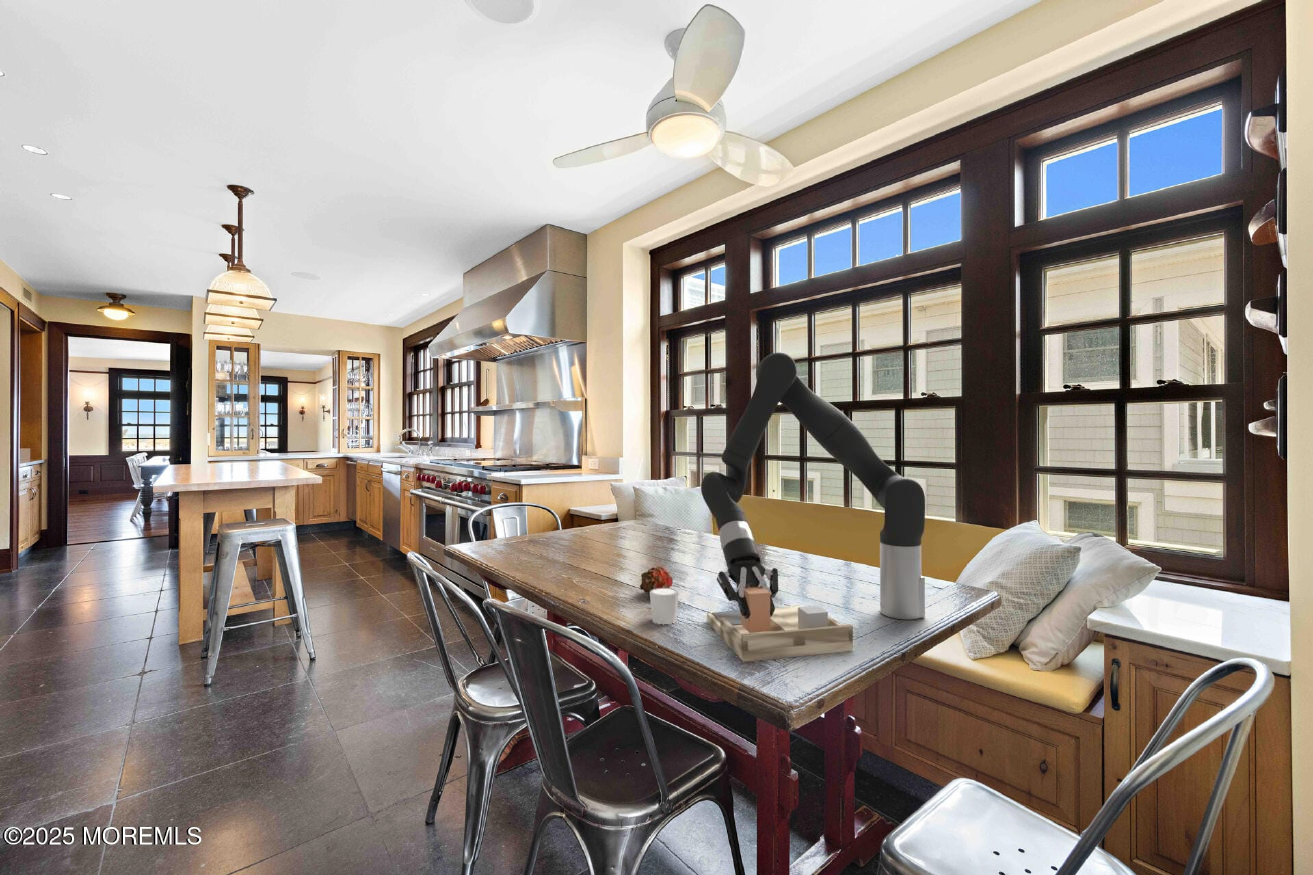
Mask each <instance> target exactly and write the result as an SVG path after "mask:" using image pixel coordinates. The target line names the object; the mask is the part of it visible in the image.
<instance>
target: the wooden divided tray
mask: <svg viewBox="0 0 1313 875" xmlns="http://www.w3.org/2000/svg"><path fill="white" fill-rule="evenodd" d="M798 607H802V605H793V606H792V605H790V606H779V607H775V611H774V613H773V615H772V616H771V617H770V631H766V632H755V633H749V632H748V631H747V630H746V629H745V628H744V627H743V626H742V615H741V612H740V609H739V610H729V611H728V610H727V611H726V610H725V611H715V612H707V613H706V622H707V624H709V626H711V628H712V629H713V630H714V631H715V632H716V633H717V635H719V636H720V638H721V639H722V640H723V641H724V642H725V643H726V644H727V646H729V648H730V649H731V650H732V651H733V652H734V653H735V654H736V655H737V657H739V658H740V660H741V661H742V662H744V663H745V662H754V661H764V660H772V659H773V660H775V659H784V658H794V657H803V656H814V655H823V654H834V653H843V652H844V653H845V652H846V653H847V652H853V651H854V626H853V625H852V624H845V625H844V624H842V623H841V622H840V621H837V620H836V619H835V618H833V617H831V616H829V615H828V627H818V628H807V629H798Z"/></svg>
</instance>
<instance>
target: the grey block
mask: <svg viewBox="0 0 1313 875" xmlns="http://www.w3.org/2000/svg"><path fill="white" fill-rule="evenodd" d="M828 616H829V612H828V611H827V610H825V609H823V608H822V607H821V606H819V605H810V606H808V605H807V606H801V607H798V629H807V628H818V627H828Z"/></svg>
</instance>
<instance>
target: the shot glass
mask: <svg viewBox="0 0 1313 875" xmlns="http://www.w3.org/2000/svg"><path fill="white" fill-rule="evenodd" d="M679 593H680V592H679V590H678V589H675V588H671V587H670V588H657V589H653V590H651V591H650V595H649V597H650V598H649V599H650V609H651V617H652V619H651V620H652V623H653V624H656V623H657V624H656V625H660V624H663V626H665V625H664V624H668V625H672V623H673V624H676V622H677V616H678V615H677V614H678V602H679Z"/></svg>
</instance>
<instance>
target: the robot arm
mask: <svg viewBox="0 0 1313 875" xmlns="http://www.w3.org/2000/svg"><path fill="white" fill-rule="evenodd" d="M755 378H756V384H755V387H754V390H753V392H752V395H751V398H750V400H749V403H748V405H747V406H746V408H745V410H744V412H743V414H742V415H741V417H740V418H739V420H738V422H737V424H736V426H735V427H734V430H733V431H732V433H731V436H730V437H729V439H728V441H727V443H726V446H725V448H724V450H723V452H722V454H721V461H722V463H723V464H725V465H726V466H727V468H728V472H727V475H725V474H723V473H722V472H717V471H712V472H709V473H706V474H705V476H703V478H702V481H701V484H700V490H701V491H700V492H701V495H702V499H703V500H704V502H705V504H706V506H707V507H708V509H709V511H710V513H711V514H712V516H713V518H714V519H715V522H716V523H715V524H716V526H717V531H718V534H719V542H720V547H721V550H722V554H723V557H724V560H725V564H726V567H727V571H721V570H720V571H719V572H718V574H717V577H716V581H717V582H718V585H719V586H720V588H721V590H722V591H723V594H724V595H725V597H726V599H727V600H728V601H734V602H736V603H737V605H738V608H739V610H740V612H741V615H742V616H744V618H745V619H747V618H749V616H750V611H749V607H748V604H747V600H746V598H744V596H745V592H744V590H745V588H751V587H761V588H764V589H766V590H767V591H769V592H770V617H771V616H772V615H773V613H774V611H775V608H776V607H775V604H774V601H773V598H775V597H776V596H777V594H778V592H779V571H778V568H776V567H773V568H772V569H770V568H766V567H765V566H764V565H763V564H762V561H761V556H760V553H759V551H758V548H757V543H756V541H755V538H754V534H753V532H752V530H751V528H750V526H749V523H748V520H747V517H746V514H745V510H744V509H743V508H742V506H741V505H740V504H739V502H740V501H741V499H742V498H743V495H744V492H745V488H746V484H747V476H748V471H749V467H750V464H751V462H752V460H753V457H754V455H755V453H756V452H757V449H758V448H759V445H760V442H761V440H762V438H763V435H764V433H765V431H766V428H767V426H768V423H769V422H770V420H771V418H772V415H773V414H774V412H775V410H776V408H777V406H778V404H779V403H780V404H781V405H783V406H784V407H785V408H786V409H787V410H788V411H789V412H790V413H791V414H792V415H793V416H794V417H795V418H796V420H797V421H798V422H799V424H800V425H802V427H803V428H804V429H805V430H806V432H808V433H809V435H810V436H812V438H813V439H815V441H816V442H817V443H818V444H819V445H820V446H821V447H822V448H823V449H824V450H825V451H826V452H827V453H828V454H829V455H830V456H831V457H832V458H833V459H835V460H836V461H837V462H838V463H839V464H841V466H843V468H845V469H847V471H849V473H851V474H853V475H854V476H855V478H857V479H858V481H860V482H861V483H862V485H863V486H864V487H865V488H866V489H867V490H868V492H869V493H870V494H871V496H872V498H874V499H875V500H876V502H877V503H878V505H879V506H880V507H881V508H883V509H884V522H883V527H882V529H881V530H879V531H880V532H879V596H880V597H879V599H880V600H879V601H880V602H879V608H880V609H879V610H880V613H881V614H882V615H883V616H886V617H888V618H892V619H898V620H916V619H921V618H926V579H925V576H923V575H922V537H923V536H924V532H925V524H926V523H925V521H926V496H925V492H924V489H923V487H922V486H921V484H920V483H919V482H918V481H916V480H915V479H912V478H909V477H905V476H902V475H900V474H899V473H898V472H896V471H895V470H894V469H893V468H891V467H890V466H889V465H888V464H887V463H885V462H884V460H882V458H880V457H879V456H878V455H877V453H876V452H875V450H874V449H873V446H871V444H870V442H869V441H868V439H867V437H866V436H865V435H864V433H863V432H862V431H861V429H860V428H859V427H858V426H857V425H856V424H855V423H854V422H853V421H852V420H851V419H850V418H849V417H848V416H847V415H846V414H845V413H843V412H842V411H841V410H840V409H838V408H837V407H836V406H834V405H833V404H832V403H830V402H829V401H827V400H826V399H824V398H822V397H821V396H819V395H818V394H817V393H815V392H813V391H812V390H811V389H810V387H808V386H807V385H806V383H805V382H804V381H803V380H802V379H801V378H800V376H798V368H797V364H796V362H795V360H794V358H793V357H792V356H790V355H789V354H787V353H784V352H773V353H770V354H768V355H767V356H765V357H763V359H762V360H761V361H760V362H759V364H758V365H757V367H756V370H755ZM764 575H765V576H766V578H767V581H769V587H768V585H767V582H766V580H765V578H764ZM730 580H731V581H733V582H734V583H735V584H736V588H734V586H732V584H731V581H730ZM735 589H736V590H735Z"/></svg>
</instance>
